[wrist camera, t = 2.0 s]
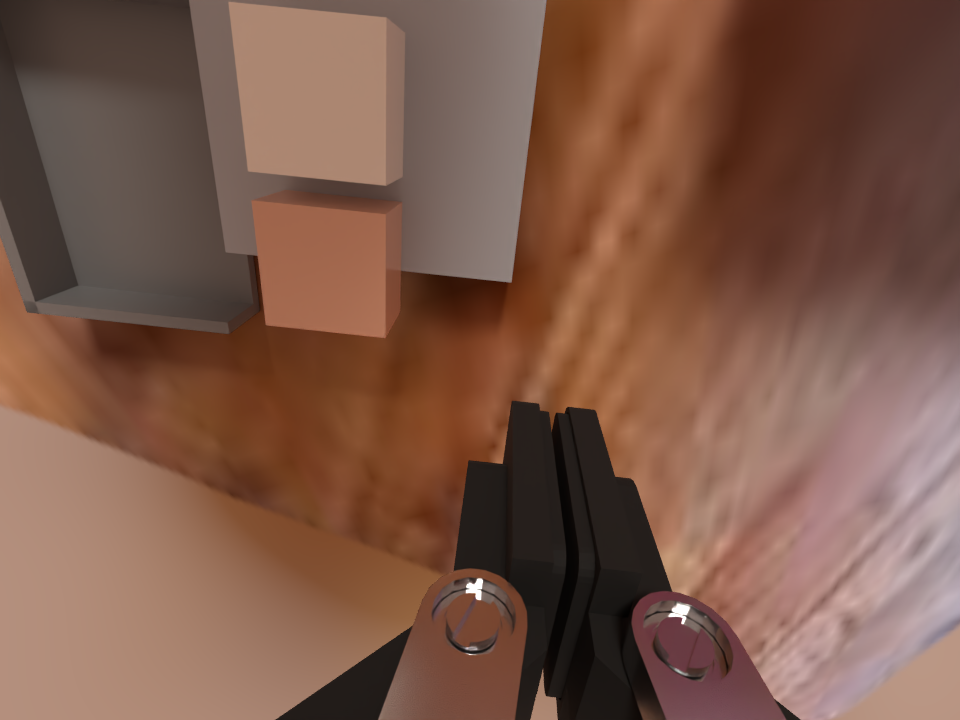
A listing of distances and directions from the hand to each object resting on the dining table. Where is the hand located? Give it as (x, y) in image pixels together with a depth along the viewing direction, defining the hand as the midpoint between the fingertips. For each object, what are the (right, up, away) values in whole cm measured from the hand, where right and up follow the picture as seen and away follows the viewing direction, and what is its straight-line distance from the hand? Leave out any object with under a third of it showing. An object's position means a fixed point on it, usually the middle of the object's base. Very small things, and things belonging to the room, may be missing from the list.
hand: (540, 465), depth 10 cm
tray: (-18, +12, +13) cm, 25 cm away
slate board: (-6, +13, +12) cm, 18 cm away
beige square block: (-7, +12, +9) cm, 17 cm away
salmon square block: (-7, +7, +12) cm, 15 cm away
